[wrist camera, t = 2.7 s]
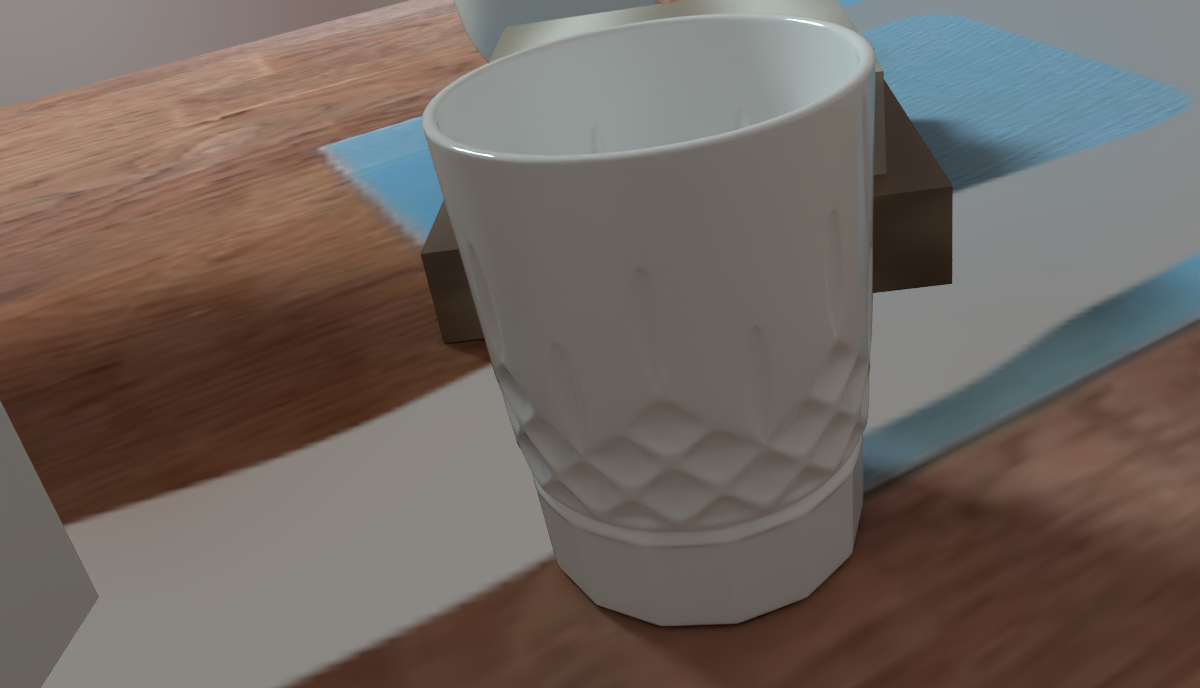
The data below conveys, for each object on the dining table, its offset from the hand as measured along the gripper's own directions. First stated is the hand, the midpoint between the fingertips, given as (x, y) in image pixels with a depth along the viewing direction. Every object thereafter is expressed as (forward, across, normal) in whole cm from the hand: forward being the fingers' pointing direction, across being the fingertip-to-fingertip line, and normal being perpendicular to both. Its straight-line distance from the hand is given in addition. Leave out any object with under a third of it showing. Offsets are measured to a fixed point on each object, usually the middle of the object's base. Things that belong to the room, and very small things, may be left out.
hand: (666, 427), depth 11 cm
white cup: (+10, 0, -10) cm, 14 cm away
